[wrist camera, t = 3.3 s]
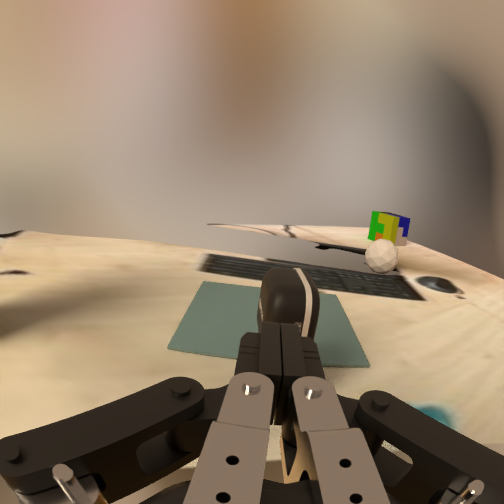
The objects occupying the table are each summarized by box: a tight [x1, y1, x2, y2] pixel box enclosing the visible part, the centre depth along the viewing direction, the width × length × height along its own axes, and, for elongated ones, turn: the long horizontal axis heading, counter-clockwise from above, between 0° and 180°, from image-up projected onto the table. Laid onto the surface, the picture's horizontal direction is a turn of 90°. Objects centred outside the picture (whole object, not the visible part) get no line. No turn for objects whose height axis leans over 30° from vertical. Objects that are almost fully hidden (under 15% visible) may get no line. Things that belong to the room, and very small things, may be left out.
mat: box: [168, 281, 370, 367], centre depth 40 cm, size 22×20×1 cm
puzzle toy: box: [368, 211, 410, 246], centre depth 99 cm, size 10×10×10 cm
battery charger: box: [257, 268, 320, 341], centre depth 24 cm, size 7×4×11 cm, turn 2°
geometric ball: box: [365, 239, 399, 274], centre depth 64 cm, size 8×8×8 cm
